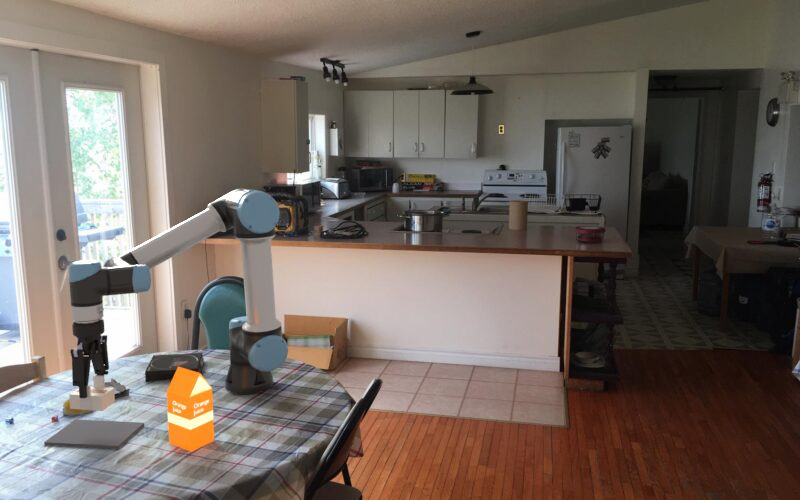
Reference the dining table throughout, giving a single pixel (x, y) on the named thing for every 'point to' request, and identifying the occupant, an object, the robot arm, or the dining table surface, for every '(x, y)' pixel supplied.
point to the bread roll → (73, 411)
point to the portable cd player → (172, 365)
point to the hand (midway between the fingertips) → (93, 403)
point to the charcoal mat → (95, 434)
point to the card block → (94, 398)
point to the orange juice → (190, 410)
